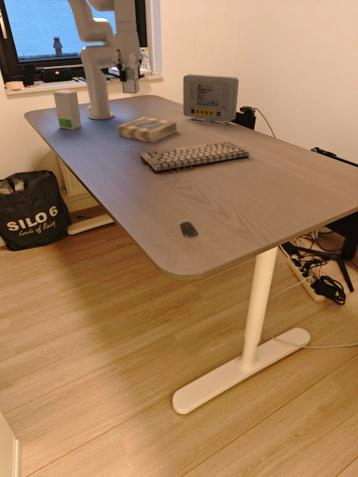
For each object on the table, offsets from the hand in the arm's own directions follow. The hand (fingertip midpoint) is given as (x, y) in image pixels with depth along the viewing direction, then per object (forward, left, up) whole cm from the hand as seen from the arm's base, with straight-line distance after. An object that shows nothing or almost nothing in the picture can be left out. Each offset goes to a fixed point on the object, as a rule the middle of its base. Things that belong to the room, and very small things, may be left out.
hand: (130, 79), depth 134 cm
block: (+61, -53, -23) cm, 84 cm away
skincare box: (-33, -7, -22) cm, 40 cm away
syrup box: (0, 0, -5) cm, 5 cm away
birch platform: (+4, +4, -22) cm, 23 cm away
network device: (+17, +35, -22) cm, 45 cm away
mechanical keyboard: (+37, -10, -23) cm, 44 cm away
